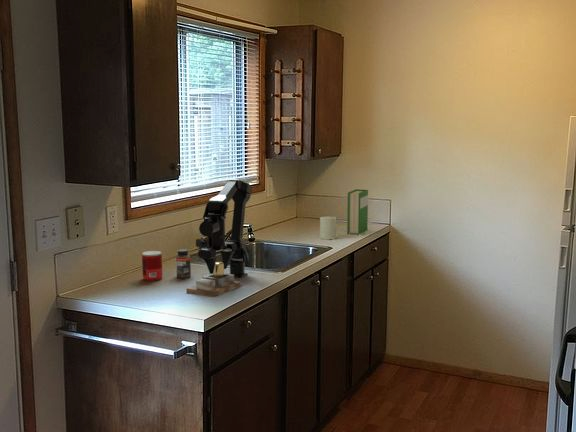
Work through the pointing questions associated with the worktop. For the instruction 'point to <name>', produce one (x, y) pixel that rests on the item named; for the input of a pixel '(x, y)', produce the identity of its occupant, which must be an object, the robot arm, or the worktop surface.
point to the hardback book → (357, 211)
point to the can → (328, 227)
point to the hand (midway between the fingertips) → (218, 271)
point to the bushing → (218, 270)
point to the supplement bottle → (183, 264)
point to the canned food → (152, 265)
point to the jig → (214, 285)
